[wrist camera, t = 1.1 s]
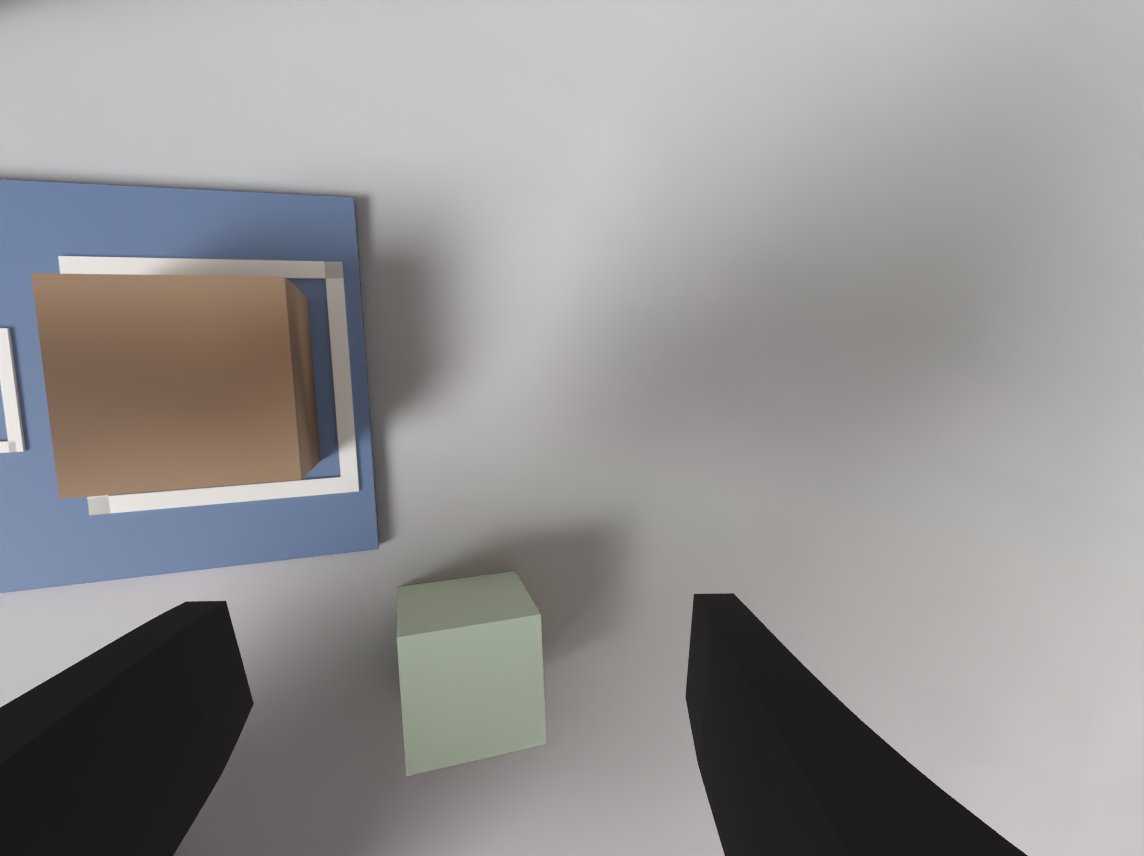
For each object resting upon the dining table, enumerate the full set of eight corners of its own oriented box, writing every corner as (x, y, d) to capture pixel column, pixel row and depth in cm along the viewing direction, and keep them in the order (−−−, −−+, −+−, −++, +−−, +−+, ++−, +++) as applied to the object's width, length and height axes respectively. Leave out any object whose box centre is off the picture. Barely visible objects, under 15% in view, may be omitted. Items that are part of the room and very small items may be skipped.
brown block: (320, 460, 17) (301, 479, 14) (131, 474, 16) (59, 499, 13) (307, 297, 17) (284, 276, 14) (110, 296, 16) (31, 273, 12)
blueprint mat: (379, 545, 19) (378, 549, 18) (-298, 623, 14) (-323, 631, 14) (354, 201, 17) (353, 196, 17) (-385, 164, 13) (-416, 156, 12)
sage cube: (519, 676, 20) (546, 744, 17) (405, 698, 19) (406, 776, 16) (514, 569, 20) (540, 614, 16) (397, 585, 19) (396, 637, 15)
